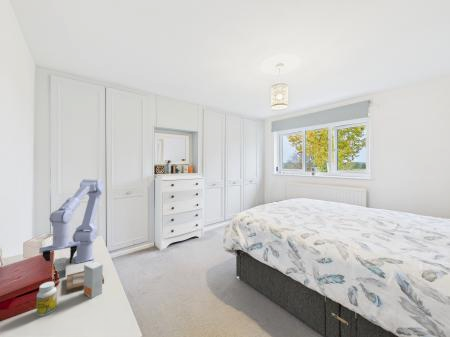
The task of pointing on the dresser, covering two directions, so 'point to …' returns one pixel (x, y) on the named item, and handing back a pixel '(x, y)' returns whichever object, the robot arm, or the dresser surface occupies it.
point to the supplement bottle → (46, 299)
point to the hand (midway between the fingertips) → (60, 264)
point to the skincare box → (93, 279)
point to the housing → (61, 267)
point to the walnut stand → (76, 282)
